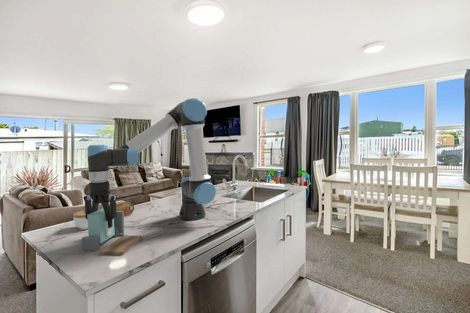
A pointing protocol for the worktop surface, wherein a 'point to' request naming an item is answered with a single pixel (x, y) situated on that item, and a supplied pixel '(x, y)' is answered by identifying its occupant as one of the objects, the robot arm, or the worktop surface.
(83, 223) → the lidded jar
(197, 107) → the robot arm
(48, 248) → the worktop surface
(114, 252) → the walnut board
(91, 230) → the block
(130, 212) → the tin
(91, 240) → the module cradle
